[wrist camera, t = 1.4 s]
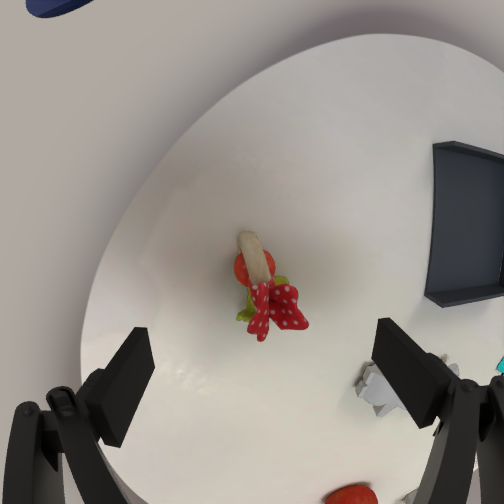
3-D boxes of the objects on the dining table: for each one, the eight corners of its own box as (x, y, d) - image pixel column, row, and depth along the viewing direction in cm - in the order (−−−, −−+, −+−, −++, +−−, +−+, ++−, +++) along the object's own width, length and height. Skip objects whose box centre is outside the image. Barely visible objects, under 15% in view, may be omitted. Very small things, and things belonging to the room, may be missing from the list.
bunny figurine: (384, 360, 27) (472, 369, 27) (372, 338, 32) (455, 352, 32) (350, 421, 29) (438, 423, 29) (344, 396, 34) (426, 403, 34)
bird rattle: (217, 256, 30) (244, 339, 29) (183, 231, 20) (224, 359, 18) (274, 236, 30) (303, 319, 29) (270, 200, 19) (316, 329, 18)
